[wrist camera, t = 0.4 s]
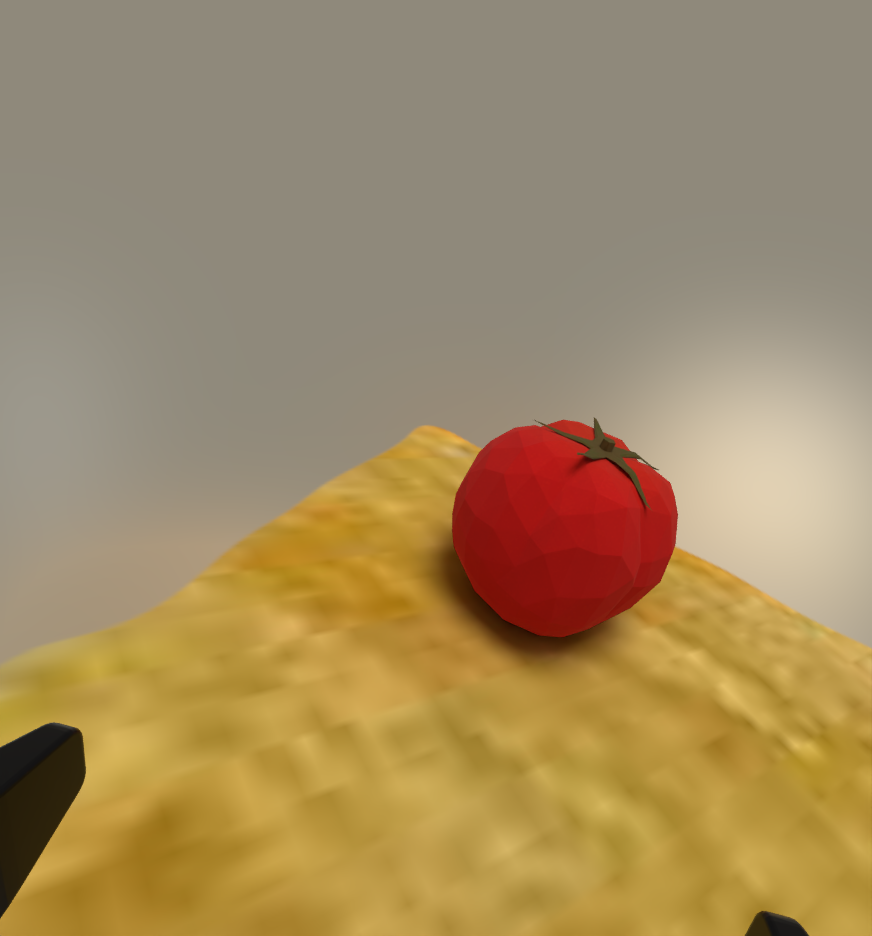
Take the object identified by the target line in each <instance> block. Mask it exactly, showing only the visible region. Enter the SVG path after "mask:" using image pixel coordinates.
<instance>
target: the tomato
mask: <svg viewBox="0 0 872 936" xmlns="http://www.w3.org/2000/svg"><path fill="white" fill-rule="evenodd" d="M539 423H540V422H539ZM540 424H542V425H544V426H542V427H539V426H536V425H533V426H525V427H517V428H514V429H512V430H510V431H508V432H506V433H504V434H502V435H501V436H499V437H497V438H495V439H494V440H492V441H490V443H488V444H487V445H486V446H485V447H484V448H483V449H482V450H481V451H480V452H479V454H478V455H477V457H476V459H475V460H474V462H473V464H472V466H471V467H470V469H469V471H468V473H467V474H466V476H465V478H464V479H463V481H462V483H461V485H460V487H459V489H458V491H457V493H456V497H455V502H454V508H453V513H452V533H453V543H454V548H455V550H456V553H457V555H458V557H459V559H460V561H461V564H462V566H463V568H464V570H465V572H466V574H467V576H468V578H469V580H470V582H471V584H472V586H473V589H474V591H475V592H476V593H477V594H478V595H479V596H480V597H481V598H482V599H483V600H484V601H485V602H486V603H487V604H488V605H489V606H490V607H491V608H492V609H493V610H494V611H495V612H496V613H497V614H498V615H499V616H500V617H501V618H502V619H503V620H505V621H508V622H510V623H512V624H514V625H517V626H519V627H521V628H523V629H526V630H528V631H530V632H532V633H535V634H537V635H540V636H553V637H565V636H568V635H571V634H574V633H578V632H581V631H584V630H587V629H589V628H591V627H593V626H595V625H597V624H599V623H601V622H603V621H605V620H607V619H609V618H611V617H613V616H615V615H617V614H619V613H621V612H623V611H625V610H627V609H629V608H631V607H632V606H633V605H634V604H636V603H637V602H638V601H639V600H640V599H641V598H642V597H644V596H645V595H646V594H647V593H648V592H649V591H650V590H652V589H653V588H654V587H655V586H656V585H657V584H658V583H660V581H661V579H662V576H663V574H664V572H665V569H666V567H667V565H668V562H669V560H670V558H671V555H672V553H673V550H674V547H675V543H676V531H677V519H678V513H677V507H676V502H675V496H674V493H673V490H672V487H671V484H670V482H669V481H667V480H666V479H665V478H664V477H662V476H661V475H660V474H659V473H657V472H656V471H655V470H654V469H656V468H654V467H652V466H651V465H649V464H648V463H647V462H646V461H645V460H643V459H642V458H641V457H640V456H639V455H637V454H636V453H635V452H631V451H630V450H629V449H628V448H627V446H626V445H625V444H624V442H623V441H622V440H620V439H618V438H615V437H613V436H611V435H608V434H606V433H603V432H602V430H601V428H600V426H599V424H598V421H597V420H596V419H595V418H594V428H592V427H589V426H587V425H585V424H582V423H580V422H575V421H568V420H561V421H557V422H555V423H551V424H548V425H545V424H543V423H540ZM637 459H641V460H643V461H644V462H645V463H646V464H648V465H649V466H648V465H646V464H643V463H640V462H638V461H637ZM651 467H652V468H653V469H652V468H651ZM656 470H658V469H656Z"/></svg>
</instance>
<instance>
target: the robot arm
mask: <svg viewBox="0 0 872 936" xmlns="http://www.w3.org/2000/svg"><path fill="white" fill-rule="evenodd" d="M85 774H86V766H85V755H84V745H83V736H82V733H81V731H80V730H79V729H78V728H75V727H71V726H67V725H64V724H60V723H49V724H45V725H43V726H41V727H39V728H37V729H35V730H33V731H31V732H29V733H27V734H25V735H23V736H21V737H19V738H18V739H16V740H14V741H12V742H10V743H8V744H6V745H4V746H2V747H0V918H1V917H2V915H3V914H4V912H5V911H6V910H7V908H8V907H9V905H10V904H11V902H12V900H13V899H14V897H15V896H16V894H17V893H18V891H19V890H20V888H21V886H22V885H23V883H24V881H25V880H26V878H27V877H28V875H29V873H30V872H31V870H32V868H33V867H34V865H35V863H36V862H37V860H38V858H39V857H40V855H41V853H42V852H43V850H44V849H45V847H46V845H47V844H48V842H49V840H50V839H51V837H52V835H53V834H54V832H55V830H56V829H57V827H58V825H59V824H60V822H61V821H62V819H63V817H64V816H65V814H66V812H67V811H68V809H69V807H70V806H71V804H72V802H73V801H74V799H75V797H76V796H77V794H78V793H79V791H80V789H81V787H82V785H83V782H84V779H85ZM745 936H809V935H808V934H807V932H806V931H805V930H804V928H803V927H802V926H801V925H800V924H799V923H798V922H797V921H795V920H794V919H792V918H790V917H786V916H783V915H779V914H775V913H771V912H767V911H761V912H759V913H757V915H756V916H755V918H754V920H753V921H752V923H751V925H750V927H749V929H748V931H747V933H746V934H745Z"/></svg>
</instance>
